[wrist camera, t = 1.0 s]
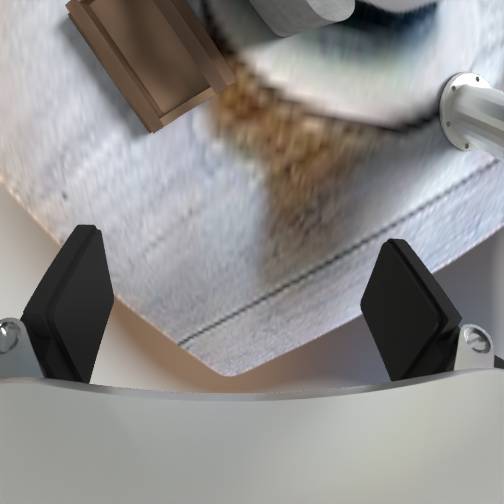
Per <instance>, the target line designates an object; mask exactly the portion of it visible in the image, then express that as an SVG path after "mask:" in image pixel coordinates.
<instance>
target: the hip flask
mask: <svg viewBox="0 0 504 504" xmlns="http://www.w3.org/2000/svg"><path fill="white" fill-rule="evenodd" d="M249 1H250V3H251V4H252V6H253V7H254V9H255V10H256V11H257V13H258V14H259V15H260V17H261V18H262V19H263V21H264V22H265V23H266V24H267V25H268V27H269V28H270V29H271V30H272V31H273V32H274V33H275V34H276V35H278V36H280V37H288V36H292V35H295V34H298V33H301V32H304V31H307V30H310V29H314V28H317V27H320V26H324V25H327V24H331V23H335V22H339V21H343V20H345V19H347V18H348V17H350V15H351V14H352V13H353V11H354V7H355V2H354V0H249Z"/></svg>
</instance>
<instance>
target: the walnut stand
mask: <svg viewBox="0 0 504 504" xmlns="http://www.w3.org/2000/svg"><path fill="white" fill-rule="evenodd" d="M65 6H66V7H67V9H68V10H69V12H70V13H69V14H68V15H69V17H70V18H71V20H72V21H73V23H74V24H75V26H76V27H77V29H78V30H79V32H80V33H81V35H82V36H83V38H84V39H85V40H86V42H87V43H88V45H89V46H90V48H91V49H92V51H93V52H94V54H95V55H96V57H97V58H98V60H99V61H100V62H101V64H102V65H103V67H104V68H105V70H106V71H107V73H108V74H109V75H110V77H111V78H112V80H113V81H114V83H115V84H116V86H117V87H118V89H119V90H120V91H121V93H122V94H123V96H124V97H125V99H126V100H127V101H128V103H129V104H130V106H131V107H132V109H133V110H134V112H135V113H136V114H137V116H138V117H139V119H140V120H141V122H142V123H143V124H144V126H145V127H146V129H147V130H148V131H149V133H152V132H153V134H154V133H155V132H157V131H158V130H159V129H161V128H162V127H164V126H165V125H167V124H169V123H170V122H172V121H173V120H175V119H176V118H178V117H179V116H181V115H183V114H184V113H186V112H187V111H189V110H191V109H192V108H194V107H196V106H197V105H199V104H200V103H202V102H204V101H206V100H207V99H209V98H211V97H212V96H214V95H216V94H218V93H219V92H221V91H223V90H225V89H227V88H228V85H230V84H232V83H233V82H235V81H237V79H236V77H235V76H234V74H233V72H232V71H231V69H230V68H229V66H228V64H227V63H226V61H225V60H224V58H223V56H222V55H221V53H220V52H219V50H218V49H217V47H216V45H215V44H214V42H213V41H212V39H211V38H210V36H209V35H208V33H207V32H206V30H205V29H204V27H203V26H202V24H201V23H200V21H199V20H198V18H197V17H196V15H195V14H194V12H193V11H192V10H191V8H190V7H189V5H188V4H187V2H186V1H185V0H71V1H69V2H68V3H67V4H66V5H65Z"/></svg>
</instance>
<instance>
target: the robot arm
mask: <svg viewBox="0 0 504 504" xmlns="http://www.w3.org/2000/svg"><path fill="white" fill-rule="evenodd" d="M439 112H440V121H441V126H442V128H443V131H444V133H445V135H446V137H447V138H448V140H449V141H450V142H451V143H452V144H453V145H455V146H456V147H458V148H460V149H462V150H465V151H473V150H477V149H479V148H480V149H481V150H483V151H485V152H487V153H489V154H490V155H492V156H494V157H495V158H497V159H499V160H501V161H502V162H504V92H503V91H500V90H497V89H494V88H492V87H491V86H490V84H489V83H488V82H487V81H486V80H485V79H484V78H483V77H482V76H480V75H478V74H475V73H471V72H462V73H459V74H457V75H455V76H454V77H452V78H451V79H450V81H449V82H448V83H447V85H446V86H445V88H444V90H443V93H442V96H441V100H440V109H439ZM113 302H114V294H113V289H112V284H111V280H110V275H109V270H108V265H107V260H106V255H105V249H104V244H103V238H102V233H101V230H98V229H97V228H96V226H95V225H77V226H76V228H75V229H74V231H73V232H72V233H71V235H70V236H69V238H68V239H67V241H66V242H65V244H64V245H63V247H62V248H61V250H60V251H59V253H58V254H57V256H56V257H55V259H54V260H53V262H52V264H51V265H50V267H49V268H48V270H47V272H46V273H45V275H44V276H43V278H42V280H41V281H40V283H39V285H38V286H37V288H36V290H35V292H34V293H33V295H32V297H31V298H30V300H29V302H28V304H27V306H26V307H25V309H24V311H23V315H22V317H21V319H20V320H18V319H16V318H5V319H2V320H0V504H504V360H503V359H501V358H499V357H497V356H496V355H494V343H493V341H492V339H491V337H490V336H489V334H488V333H487V332H486V331H484V330H483V329H482V328H480V327H479V326H476V325H474V324H467V325H464V326H463V327H462V328H461V329H459V327H458V324H459V323H460V321H461V320H462V317H461V316H460V314H459V313H458V311H457V310H456V308H455V307H454V305H453V304H452V302H451V301H450V300H449V298H448V297H447V295H446V294H445V292H444V291H443V290H442V288H441V287H440V285H439V284H438V282H437V281H436V280H435V278H434V277H433V276H432V274H431V273H430V272H429V270H428V269H427V267H426V266H425V265H424V264H423V262H422V261H421V260H420V258H419V257H418V256H417V254H416V253H415V252H414V251H413V249H412V248H411V247H410V245H409V244H408V243H407V242H406V241H405V240H403V239H391V238H390V239H388V240H387V242H385V243H383V245H382V247H381V250H380V253H379V255H378V258H377V261H376V263H375V266H374V269H373V271H372V274H371V277H370V279H369V282H368V284H367V287H366V289H365V292H364V294H363V297H362V299H361V304H360V306H361V311H362V313H363V315H364V317H365V320H366V322H367V324H368V327H369V329H370V331H371V333H372V336H373V338H374V340H375V343H376V345H377V347H378V350H379V352H380V355H381V357H382V359H383V362H384V364H385V367H386V369H387V372H388V374H389V377H390V379H391V381H392V382H386V383H380V384H372V385H365V386H357V387H348V388H338V389H328V390H316V391H303V392H285V393H257V394H213V393H211V394H210V393H183V392H166V391H152V390H141V389H131V388H120V387H111V386H102V385H94V384H89V382H90V379H91V375H92V371H93V368H94V364H95V361H96V357H97V353H98V350H99V347H100V343H101V340H102V337H103V333H104V330H105V327H106V324H107V321H108V318H109V315H110V312H111V309H112V306H113Z"/></svg>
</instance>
